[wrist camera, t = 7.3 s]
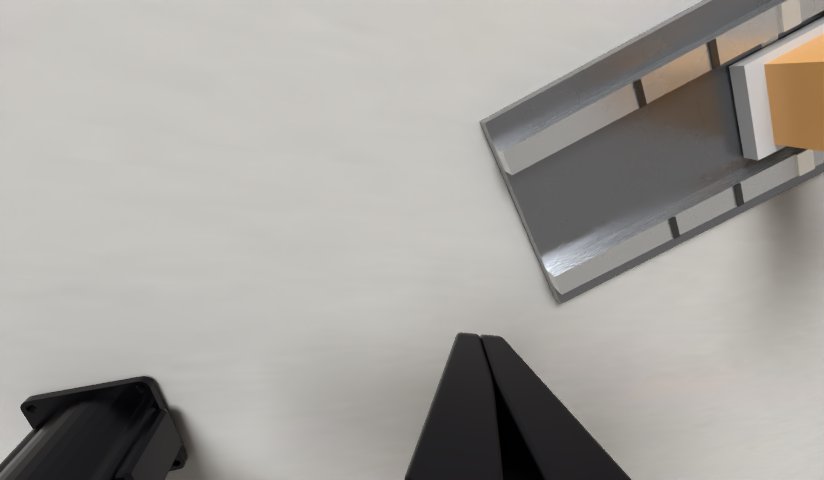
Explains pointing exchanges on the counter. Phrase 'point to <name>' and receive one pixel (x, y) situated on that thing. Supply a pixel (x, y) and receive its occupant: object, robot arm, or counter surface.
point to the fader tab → (782, 94)
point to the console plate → (644, 144)
